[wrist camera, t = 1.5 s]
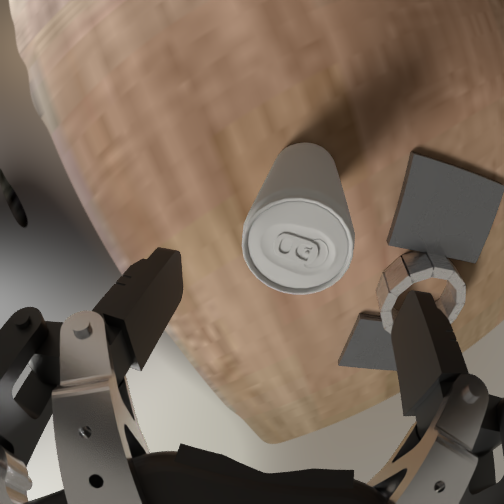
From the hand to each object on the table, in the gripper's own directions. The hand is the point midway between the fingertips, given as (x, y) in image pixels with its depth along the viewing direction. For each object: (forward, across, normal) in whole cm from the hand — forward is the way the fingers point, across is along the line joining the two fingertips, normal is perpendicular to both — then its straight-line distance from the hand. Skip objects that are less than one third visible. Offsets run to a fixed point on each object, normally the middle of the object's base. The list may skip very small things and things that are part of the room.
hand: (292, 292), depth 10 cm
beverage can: (+15, 0, 0) cm, 15 cm away
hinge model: (+14, -13, +9) cm, 21 cm away
